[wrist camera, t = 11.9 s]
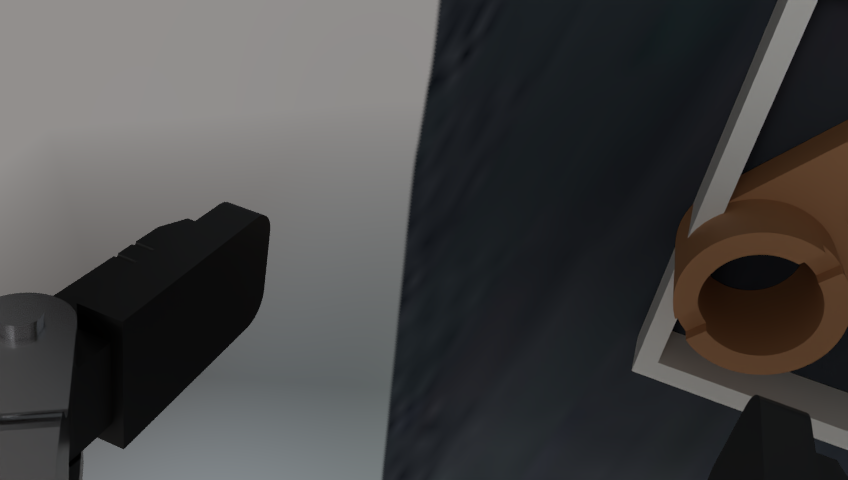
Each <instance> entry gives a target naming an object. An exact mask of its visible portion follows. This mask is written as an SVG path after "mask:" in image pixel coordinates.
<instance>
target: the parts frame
mask: <svg viewBox="0 0 848 480" xmlns="http://www.w3.org/2000/svg"><path fill="white" fill-rule="evenodd" d="M817 1H818V0H778V1H777V3H776V5H775V8H774V10H773V13H772V15H771V17H770V20H769V22H768V25H767V27H766V29H765V32H764V34H763V37H762V39H761V41H760V44H759V46H758V49H757V51H756V54H755V56H754V58H753V61H752V63H751V66H750V68H749V70H748V73H747V75H746V78H745V80H744V82H743V85H742V87H741V90H740V92H739V94H738V97H737V99H736V102H735V104H734V106H733V109H732V111H731V114H730V116H729V118H728V121H727V123H726V126H725V128H724V130H723V133H722V135H721V138H720V140H719V142H718V145H717V147H716V150H715V152H714V155H713V157H712V159H711V162H710V164H709V167H708V169H707V171H706V174H705V176H704V179H703V181H702V183H701V186H700V188H699V191H698V193H697V195H696V198H695V200H694V203H693V210H692V216H691V222H690V227H689V232H688V237H689V236H690V235H691V234H692V233H693V232H694V231H695V230H696V229H697V228H698V227H699V226H701V225H702V224H703V223H705V222H707V221H708V220H710V219H711V218H713V217H716V216H718V215H720V214H723V213H724V212H725V209H726V207H727V205H728V203H729V200H730V198H731V196H732V194H733V191H734V189H735V187H736V185H737V182H738V180H739V178H740V175H741V173H742V171H743V169H744V166H745V164H746V162H747V160H748V157H749V155H750V153H751V151H752V148H753V146H754V144H755V142H756V139H757V137H758V135H759V132H760V130H761V128H762V126H763V123H764V121H765V119H766V117H767V114H768V112H769V110H770V108H771V105H772V103H773V101H774V99H775V96H776V94H777V92H778V89H779V87H780V85H781V83H782V80H783V78H784V76H785V74H786V71H787V69H788V67H789V65H790V62H791V60H792V58H793V56H794V53H795V51H796V49H797V46H798V44H799V42H800V40H801V37H802V35H803V33H804V31H805V28H806V26H807V24H808V22H809V19H810V17H811V15H812V12H813V10H814V8H815V6H816V3H817ZM674 269H675V248H674V251H673V253H672V256H671V258H670V260H669V263H668V265H667V268H666V270H665V272H664V275H663V277H662V280H661V282H660V284H659V287H658V289H657V292H656V294H655V296H654V299H653V301H652V304H651V306H650V308H649V311H648V313H647V316H646V318H645V320H644V323H643V325H642V328H641V330H640V333H639V335H638V339H637V344H636V350H635V355H634V360H633V365H632V371H633V372H636V373H639V374H642V375H644V376H647V377H650V378H652V379H655V380H658V381H661V382H663V383H666V384H669V385H672V386H674V387H677V388H680V389H682V390H685V391H688V392H691V393H693V394H696V395H699V396H702V397H704V398H707V399H710V400H712V401H715V402H718V403H721V404H723V405H726V406H729V407H732V408H734V409H737V410H740V411H742V412H743V410H744V408H745V406H746V405H747V403H748V401H749V400H750V399H751V398H752V397H753V396H754V395H759V396H762V397H765V398H768V399H771V400H773V401H776V402H779V403H782V404H784V405H787V406H790V407H793V408H795V409H798V410H801V411H804V412H807V413H808V414H809V415H810V418H811V423H812V430H813V437H814V438H816V439H819V440H821V441H824V442H827V443H830V444H832V445H835V446H838V447H841V448H843V449H846V450H848V393H847V392H844V391H841V390H838V389H836V388H833V387H830V386H827V385H824V384H821V383H818V382H816V381H813V380H810V379H807V378H804V377H801V376H799V375H796V374H793V373H790V372H785V373H780V374H772V375H753V374H745V373H739V372H735V371H731V370H728V369H725V368H723V367H720V366H718V365H716V364H714V363H712V362H710V361H708V360H707V359H705V358H704V357H702V356H701V355H700V354H698V353H697V352H696V351H695V350H694V349H693V348H692V347H691V346H690V345H689V344H688V342H687V341H686V336H685V335H682V334H679V333H677V332H674V331H672V329H673V327H674V325H675V323H676V320H677V318H676V319H675V317H674V311H673V289H674Z"/></svg>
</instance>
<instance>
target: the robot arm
mask: <svg viewBox="0 0 848 480" xmlns="http://www.w3.org/2000/svg"><path fill="white" fill-rule="evenodd" d="M269 236H270V222H269V219H268V217H267V216H264V215H262V214H259V213H256V212H254V211H251V210H248V209H245V208H242V207H239V206H237V205H234V204H231V203H228V202H224V203H221V204H219V205H218V206H216V207H215V208H214V209H212V210H211V211H209V212H208V213H206V214H205V215H203V216H202V217H201V218H199V219H198V220H196V221H193V220H190V219H185V220H181V221H178V222H174V223H171V224H167V225H164V226H160V227H158V228H156V229H155V230H153V231H152V232H150V233H148V234H147V235H145V236H144V237H142V238H141V239H139V240H138V241H136V244H135V245H130V246H129V247H127V248H126V249H124V250H123V251H121V252H120V253H118V256H117V257H112V258H110V259H109V260H107V261H106V262H105V263H103V264H101V265H100V266H98V267H97V268H95V269H94V270H92V271H91V272H89V273H88V274H86V275H84V276H83V277H81V278H80V279H78V280H77V281H75V282H74V283H72V284H71V285H69V286H68V287H66V288H65V289H63V290H62V291H60V292H59V293H57V294H55V295H54V296H51V295H47V294H40V293H16V294H9V295H5V296H1V297H0V480H82V476H83V450H84V449H85V448H86V447H87V446H88V445H89V444H90V443H91V442H92V441H93V440H94V439H96V438H97V437H98V438H100V439H102V440H105V441H107V442H109V443H111V444H113V445H116V446H118V447H120V448H122V449H124V448H125V447H126V446H127V445H128V444H129V443H131V441H133V439H135V438H136V437H137V436H138V435H139V434H140V433H141V431H143V430H144V429H145V427H147V426H148V425H149V424H150V423H151V421H153V420H154V419H155V418H156V417H157V416H158V415H159V414H160V413H161V412H162V411H163V410H164V409H165V408H166V407H167V406H168V405H169V404H170V403H171V402H172V401H173V400H174V399H175V398H176V397H177V396H178V395H179V394H180V393H181V392H182V391H183V390H184V389H185V388H186V387H187V386H188V385H189V384H190V383H191V382H192V381H193V380H194V379H195V378H196V377H197V376H198V375H200V374H201V372H202V371H204V369H206V368H207V367H208V366H209V365H210V364H211V363H212V362H213V361H214V360H215V359H216V358H217V357H218V356H219V355H220V354H221V353H222V352H223V351H224V350H225V349H226V348H227V347H228V346H229V345H230V344H231V343H232V342H233V341H234V340H235V339H236V338H237V337H238V336H239V335H240V334H241V333H242V332H243V331H244V330H245V329H246V328H247V327H248V326H249V325H250V323H251V322H252V321H253V319H254V318H255V315H256V314H257V312H258V309H259V307H260V304H261V301H262V298H263V293H264V284H265V275H266V265H267V255H268V245H269ZM708 480H848V477H847V475H846V474H845V472H844V471H843V469H842V468H841V466H840V465H839V463H838V461H837V460H834V459H832V458H829V457H826V456H824V455H821V454H818V453H816V451H815V444H814V437H813V430H812V423H811V418H810V415H809V414H808V413H807V412H804V411H801V410H798V409H795V408H793V407H790V406H787V405H784V404H782V403H779V402H776V401H773V400H771V399H768V398H765V397H762V396H759V395H754V396H753V397H752V398H751V399H750V400H749V401H748V403H747V405H746V406H745V408H744V410H743V412H742V414H741V416H740V418H739V419H738V421H737V423H736V425H735V427H734V429H733V431H732V432H731V434H730V436H729V438H728V440H727V442H726V444H725V446H724V447H723V449H722V451H721V453H720V455H719V457H718V459H717V460H716V462H715V464H714V466H713V468H712V470H711V473H710V475H709V478H708Z"/></svg>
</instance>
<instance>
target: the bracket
mask: <svg viewBox="0 0 848 480" xmlns="http://www.w3.org/2000/svg"><path fill="white" fill-rule="evenodd" d="M692 210H693V205H692V206H691V207H690V208H689V209H688V211H687V212H686V213H685V215H684V217H683V218H682V220H681V222H680V224H679V227H678V230H677V234H676V242H675V269H674V289H673V311H674V317H675V319H676V318H678V320H679V322H680V324H681V325H682V327H683V328H684V329H685V331H686V341H687V342H688V344H689V345H690V346H691V347H692V348H693V349H694V350H695V351H696V352H697V353H698V354H700V355H701V356H702V357H704V358H705V359H707V360H708V361H710V362H712V363H714V364H716V365H718V366H720V367H723V368H725V369H728V370H731V371H735V372H739V373H745V374H753V375H772V374H780V373H785V372H790V371H793V370H797V369H799V368H802V367H805V366H807V365H809V364H811V363H813V362H815V361H816V360H818V359H820V358H821V357H822V356H824V355H825V354H826V353H828V352H829V351H830V350H831V349H832V348H833V347H834V346H835V345H836V344H837V342H838V341H839V340H840V339H841V337H842V335H843V334H844V332H845V330H846V328H847V326H848V120H846V121H844V122H842V123H840V124H839V125H837V126H835V127H833V128H831V129H829V130H827V131H825V132H823V133H821V134H819V135H817V136H815V137H813V138H811V139H810V140H808V141H806V142H804V143H802V144H800V145H798V146H796V147H794V148H792V149H790V150H788V151H786V152H784V153H782V154H781V155H779V156H777V157H775V158H773V159H771V160H769V161H767V162H765V163H763V164H761V165H759V166H757V167H755V168H754V169H752V170H750V171H748V172H746V173H744V174H742V175H740V178H739V180H738V182H737V185H736V187H735V189H734V191H733V194H732V196H731V198H730V200H729V203H728V205H727V207H726V209H725V212H724V213H723V214H720V215H718V216H716V217H713V218H711V219H710V220H708V221H707V222H705V223H703V224H702V225H701V226H699V227H698V228H697V229H696V230H695V231H694V232H693V233H692V234H691V235H690V236H689V237H688V232H689V227H690V222H691V216H692ZM750 255H772V256H778V257H782V258H785V259H788V260H791V261H793V262H795V263H797V264H801V265H800V266H799V268H798V269H797V270H796V271H795V272H794V273H793V274H792V275H791V276H790V277H789V278H788V279H786V280H785V281H783V282H781V283H779V284H777V285H775V286H772V287H769V288H766V289H761V290H739V289H735V288H731V287H728V286H726V285H723V284H721V283H719V282H718V281H716V280H715V279H713V278H712V277H711V276H710V274H711V273H713V272H714V271H715V270H716V269H717V268H719V267H720V266H722V265H723V264H725V263H727V262H729V261H731V260H734V259H737V258H740V257H744V256H750Z"/></svg>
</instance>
